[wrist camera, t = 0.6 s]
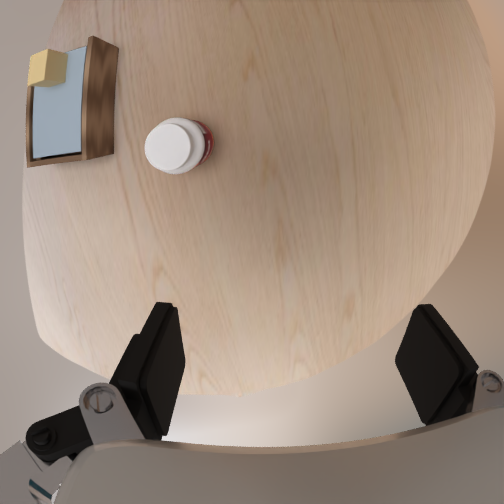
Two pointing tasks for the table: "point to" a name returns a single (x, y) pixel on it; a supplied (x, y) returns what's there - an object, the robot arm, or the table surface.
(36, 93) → the cover plate
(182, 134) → the pill bottle
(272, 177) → the table surface
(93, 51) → the walnut box
